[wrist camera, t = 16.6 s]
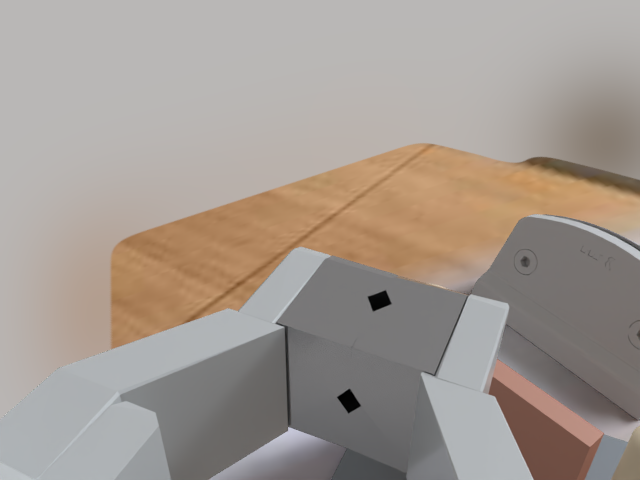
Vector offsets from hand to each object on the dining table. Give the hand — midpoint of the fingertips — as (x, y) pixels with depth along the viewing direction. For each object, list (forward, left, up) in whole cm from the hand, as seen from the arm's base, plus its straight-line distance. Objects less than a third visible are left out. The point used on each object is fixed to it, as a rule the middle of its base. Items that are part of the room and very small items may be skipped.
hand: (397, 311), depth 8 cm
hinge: (-5, -35, -28) cm, 46 cm away
